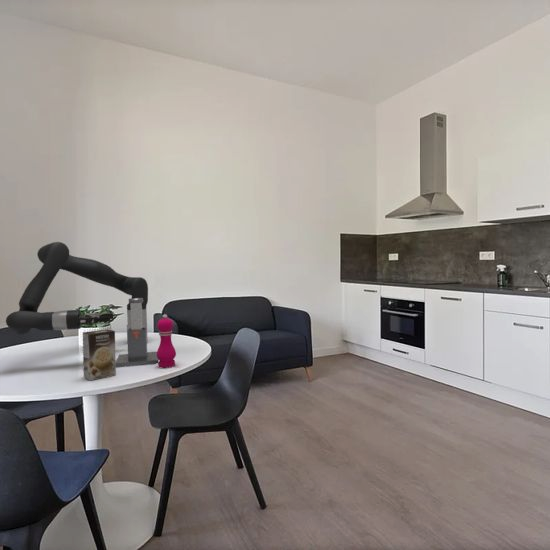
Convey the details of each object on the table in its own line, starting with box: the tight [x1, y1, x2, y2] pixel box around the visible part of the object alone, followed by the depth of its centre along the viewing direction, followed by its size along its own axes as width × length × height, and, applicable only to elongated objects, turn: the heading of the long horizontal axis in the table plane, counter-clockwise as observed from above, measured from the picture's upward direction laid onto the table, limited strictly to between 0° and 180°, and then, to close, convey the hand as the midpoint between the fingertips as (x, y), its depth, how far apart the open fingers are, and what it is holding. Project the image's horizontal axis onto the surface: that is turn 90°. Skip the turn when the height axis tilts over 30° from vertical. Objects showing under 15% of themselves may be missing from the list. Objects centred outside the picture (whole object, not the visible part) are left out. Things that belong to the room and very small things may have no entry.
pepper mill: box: [156, 314, 177, 369], centre depth 152 cm, size 7×7×20 cm
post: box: [128, 297, 143, 331], centre depth 161 cm, size 6×6×24 cm
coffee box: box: [82, 329, 117, 381], centre depth 140 cm, size 9×6×16 cm
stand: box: [116, 327, 159, 368], centre depth 162 cm, size 16×16×13 cm
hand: (111, 317), depth 159 cm, fingers open, 8 cm apart
